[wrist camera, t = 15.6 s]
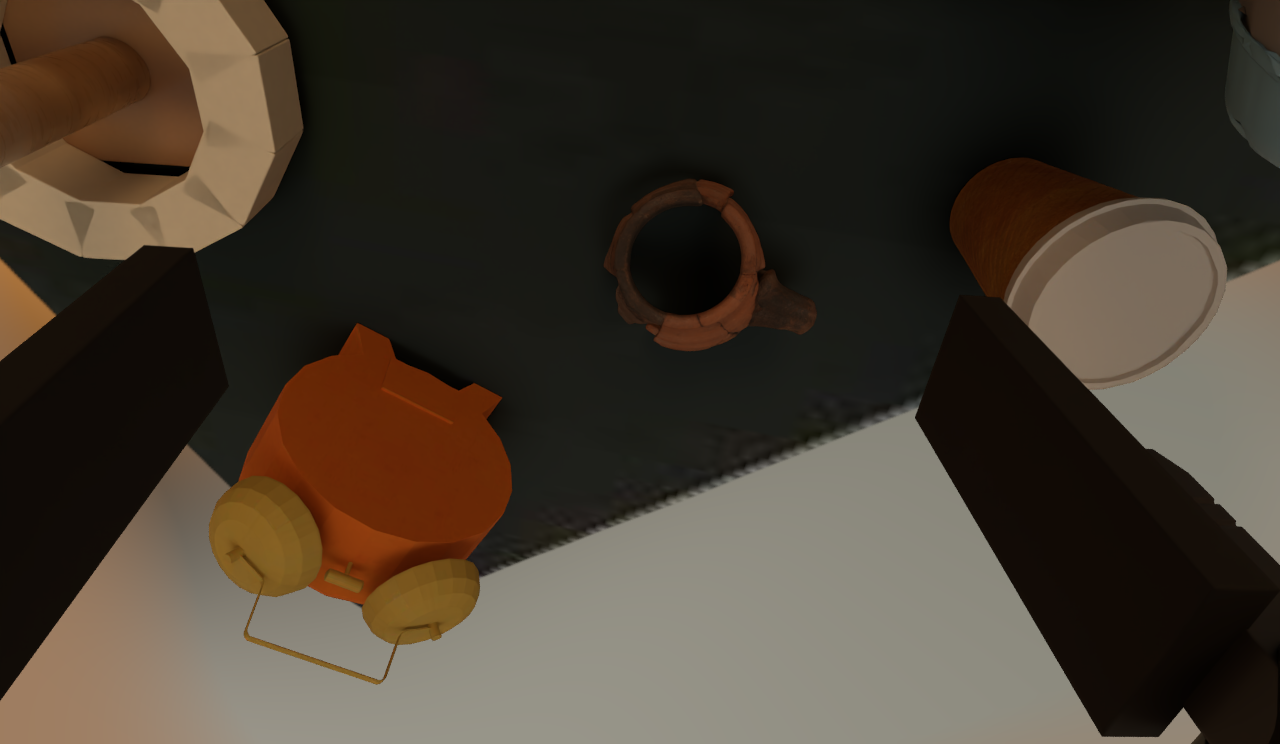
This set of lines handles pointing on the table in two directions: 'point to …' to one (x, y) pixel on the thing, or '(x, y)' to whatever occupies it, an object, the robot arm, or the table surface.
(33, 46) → the stand
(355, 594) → the alarm clock
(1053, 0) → the table surface
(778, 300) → the pottery mug
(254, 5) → the ring
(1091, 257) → the disposable coffee cup
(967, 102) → the table surface
